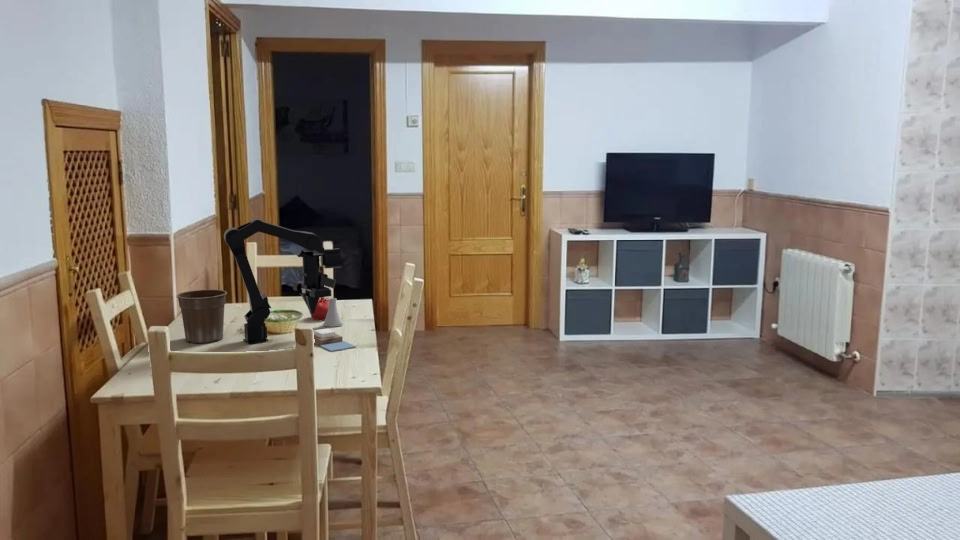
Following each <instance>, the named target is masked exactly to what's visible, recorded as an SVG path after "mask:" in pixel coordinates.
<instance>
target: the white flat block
mask: <svg viewBox="0 0 960 540" xmlns="http://www.w3.org/2000/svg"><path fill="white" fill-rule="evenodd" d="M313 334H314V335H316V336H318V337H320V338H326V337H333V336H335V334H336V331H334V330H332V329H330V328H327V327H326V328H322V329H314V330H313Z"/></svg>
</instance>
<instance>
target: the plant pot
mask: <svg viewBox="0 0 960 540" xmlns="http://www.w3.org/2000/svg"><path fill="white" fill-rule="evenodd" d="M227 294H228V292H227V291H226V290H223V289H222V290H221V289H198V290H197V289H196V290H187V291H183V292H178V293H177V294H176V298H177V301H178V305H179V308H180V312H181V318H182V325H183V330H184V336H185V337H184V338H185V341H186V342H187V343H192V344H208V343H213V342H214V341H218V342H219V341H221V340H223V338H224V323H225V321H224V320H225V305H226V301H227V300H226V298H227V297H226V296H227Z"/></svg>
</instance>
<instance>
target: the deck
mask: <svg viewBox="0 0 960 540" xmlns="http://www.w3.org/2000/svg"><path fill="white" fill-rule="evenodd" d="M314 339H315V343H316V344H315V343H314V344H315V345H317V346H320V345H325V344H331V343H337V342H343V336H342V335H340V334H337V333H335V336H333V337H326V338H320V337H318V336H316V335H314Z"/></svg>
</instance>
